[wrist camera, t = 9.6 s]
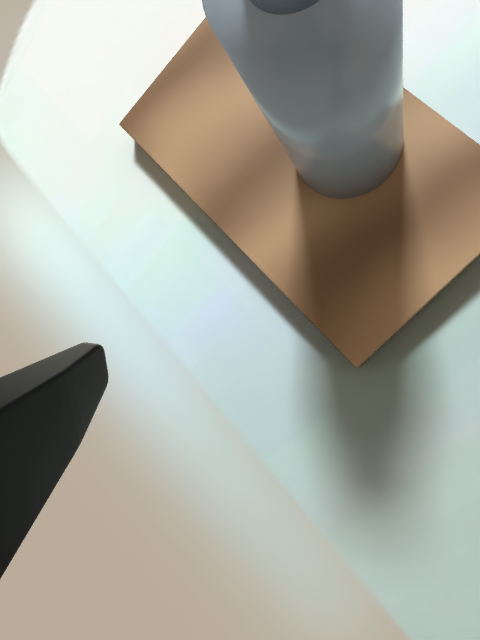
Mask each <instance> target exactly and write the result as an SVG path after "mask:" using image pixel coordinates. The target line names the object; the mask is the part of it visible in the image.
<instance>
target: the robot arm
mask: <svg viewBox="0 0 480 640" xmlns="http://www.w3.org/2000/svg"><path fill="white" fill-rule="evenodd" d="M107 383H108V370H107V365H106V358H105V352H104V349H103V347H102V346H101V345H99V344H93V343H81V344H78V345H76V346H74V347H71V348H69V349H66V350H64V351H62V352H59V353H57V354H55V355H52V356H50V357H48V358H45V359H43V360H41V361H38V362H36V363H34V364H32V365H29V366H27V367H24V368H22V369H20V370H17V371H15V372H12V373H10V374H8V375H5V376H3V377H1V378H0V578H1V577H2V575H3V573H4V572H5V570H6V568H7V567H8V565H9V563H10V562H11V560H12V558H13V557H14V555H15V553H16V552H17V550H18V548H19V547H20V545H21V543H22V541H23V540H24V538H25V536H26V535H27V533H28V531H29V530H30V528H31V526H32V525H33V523H34V521H35V519H36V518H37V516H38V514H39V513H40V511H41V509H42V508H43V506H44V504H45V503H46V501H47V499H48V498H49V496H50V494H51V493H52V491H53V489H54V488H55V486H56V484H57V483H58V481H59V479H60V478H61V476H62V474H63V473H64V471H65V469H66V468H67V466H68V464H69V462H70V461H71V459H72V457H73V456H74V454H75V452H76V450H77V449H78V447H79V445H80V443H81V441H82V439H83V437H84V435H85V433H86V431H87V428H88V426H89V424H90V422H91V420H92V418H93V415H94V413H95V411H96V409H97V406H98V404H99V402H100V400H101V398H102V395H103V393H104V391H105V389H106V386H107Z"/></svg>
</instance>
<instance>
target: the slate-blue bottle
mask: <svg viewBox="0 0 480 640" xmlns="http://www.w3.org/2000/svg"><path fill="white" fill-rule="evenodd" d="M202 3H203V8H204V11H205V15H206V18H207V20H208V22H209V24H210V26H211V28H212V30H213V31H214V33H215V35H216V36H217V38H218V40H219V41H220V43H221V45H222V46H223V48H224V50H225V51H226V53H227V55H228V56H229V58H230V60H231V61H232V63H233V65H234V66H235V68H236V70H237V71H238V73H239V75H240V76H241V78H242V80H243V81H244V83H245V85H246V86H247V88H248V90H249V91H250V93H251V95H252V96H253V98H254V100H255V101H256V103H257V105H258V106H259V108H260V110H261V111H262V113H263V115H264V116H265V118H266V120H267V121H268V123H269V125H270V126H271V128H272V130H273V131H274V133H275V135H276V136H277V138H278V140H279V141H280V143H281V145H282V146H283V148H284V150H285V151H286V153H287V155H288V156H289V158H290V160H291V161H292V163H293V165H294V166H295V168H296V170H297V171H298V173H299V175H300V176H301V178H302V179H303V181H304V182H305V183H306V184H307V185H308V186H309V187H310V188H311V189H312V190H314V191H315V192H317V193H319V194H321V195H323V196H326V197H330V198H335V199H348V198H354V197H358V196H361V195H364V194H366V193H368V192H370V191H372V190H374V189H375V188H377V187H378V186H380V185H381V184H382V183H383V182H384V181H385V180H386V179H387V178H388V177H389V176H390V175H391V174H392V172H393V171H394V169H395V168H396V166H397V164H398V162H399V159H400V157H401V154H402V149H403V141H404V128H403V10H402V0H202Z"/></svg>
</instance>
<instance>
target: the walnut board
mask: <svg viewBox="0 0 480 640" xmlns="http://www.w3.org/2000/svg"><path fill="white" fill-rule="evenodd" d="M119 125H120V126H121V127H122V128H123V129H124V130H125V131H126V132H127V133H128V134H129V135H130V136H131V137H132V138H133V139H134V140H135V141H136V142H137V143H138V144H139V145H140V146H141V147H142V148H143V149H144V150H145V151H146V152H147V153H148V154H149V155H150V156H151V157H152V159H153V160H154V161H155V162H156V163H157V164H158V165H159V166H160V167H161V168H162V169H163V170H164V171H165V172H166V173H167V174H168V175H169V176H170V177H171V178H172V179H173V180H174V181H175V182H176V183H177V184H178V185H179V186H180V187H181V188H182V189H183V190H184V191H185V192H186V193H187V194H188V195H189V197H190V198H191V199H192V200H193V201H194V202H195V203H196V204H197V205H198V206H199V207H200V208H201V209H202V210H203V211H204V212H205V213H206V214H207V215H208V216H209V217H210V218H211V219H212V220H213V221H214V222H215V223H216V224H217V225H218V226H219V227H220V228H221V229H222V230H223V231H224V232H225V234H226V235H227V236H228V237H229V238H230V239H231V240H232V241H233V242H234V243H235V244H236V245H237V246H238V247H239V248H240V249H241V250H242V251H243V252H244V253H245V254H246V255H247V256H248V257H249V258H250V259H251V260H252V261H253V262H254V263H255V264H256V265H257V266H258V267H259V268H260V269H261V270H262V272H263V273H264V274H265V275H266V276H267V277H268V278H269V279H270V280H271V281H272V282H273V283H274V284H275V285H276V286H277V287H278V288H279V289H280V290H281V291H282V292H283V293H284V294H285V295H286V296H287V297H288V298H289V299H290V300H291V301H292V302H293V303H294V304H295V305H296V306H297V307H298V308H299V310H300V311H301V312H302V313H303V314H304V315H305V316H306V317H307V318H308V319H309V320H310V321H311V322H312V323H313V324H314V325H315V326H316V327H317V328H318V329H319V330H320V331H321V332H322V333H323V334H324V335H325V336H326V337H327V338H328V339H329V340H330V341H331V342H332V343H333V344H334V345H335V346H336V348H337V349H338V350H339V351H340V352H341V353H342V354H343V355H344V356H345V357H346V358H347V359H348V360H349V361H350V362H351V363H352V364H353V365H354V366H355V367H356V368H357V367H360V366H361V365H362V364H363V363H364V362H365V361H366V360H367V359H369V358H370V357H371V356H372V355H373V354H374V353H375V352H376V351H377V350H378V349H379V348H380V347H381V346H383V345H384V344H385V343H386V342H387V341H388V340H389V339H390V338H391V337H392V336H393V335H394V334H395V333H397V332H398V331H399V330H400V329H401V328H402V327H403V326H404V325H405V324H406V323H407V322H408V321H409V320H410V319H412V318H413V317H414V316H415V315H416V314H417V313H418V312H419V311H420V310H421V309H422V308H423V307H424V306H426V305H427V304H428V303H429V302H430V301H431V300H432V299H433V298H434V297H435V296H436V295H437V294H438V293H440V292H441V291H442V290H443V289H444V288H445V287H446V286H447V285H448V284H449V283H450V282H451V281H452V280H454V279H455V278H456V277H457V276H458V275H459V274H460V273H461V272H462V271H463V270H464V269H465V268H466V267H468V266H469V265H470V264H471V263H472V262H473V261H474V260H475V259H476V258H477V257H478V256H479V255H480V145H479V144H478V143H476V142H475V141H474V140H472V139H471V138H470V137H468V136H467V135H466V134H464V133H463V132H462V131H460V130H459V129H458V128H456V127H455V126H454V125H452V124H451V123H450V122H448V121H447V120H446V119H445V118H443V117H442V116H441V115H439V114H438V113H437V112H435V111H434V110H433V109H431V108H430V107H429V106H427V105H426V104H425V103H423V102H422V101H421V100H419V99H418V98H417V97H415V96H414V95H413V94H411V93H410V92H409V91H407V90H406V89H405V88H403V128H404V141H403V149H402V154H401V157H400V159H399V162H398V164H397V166H396V168H395V169H394V171H393V172H392V174H391V175H390V176H389V177H388V178H387V179H386V180H385V181H384V182H383V183H382V184H381V185H380V186H378V187H377V188H375V189H374V190H372V191H370V192H368V193H366V194H364V195H361V196H358V197H354V198H348V199H335V198H330V197H326V196H323V195H321V194H319V193H317V192H315V191H314V190H312V189H311V188H310V187H309V186H308V185H307V184H306V183H305V182H304V181H303V179H302V178H301V176H300V175H299V173H298V171H297V170H296V168H295V166H294V165H293V163H292V161H291V160H290V158H289V156H288V155H287V153H286V151H285V150H284V148H283V146H282V145H281V143H280V141H279V140H278V138H277V136H276V135H275V133H274V131H273V130H272V128H271V126H270V125H269V123H268V121H267V120H266V118H265V116H264V115H263V113H262V111H261V110H260V108H259V106H258V105H257V103H256V101H255V100H254V98H253V96H252V95H251V93H250V91H249V90H248V88H247V86H246V85H245V83H244V81H243V80H242V78H241V76H240V75H239V73H238V71H237V70H236V68H235V66H234V65H233V63H232V61H231V60H230V58H229V56H228V55H227V53H226V51H225V50H224V48H223V46H222V45H221V43H220V41H219V40H218V38H217V36H216V35H215V33H214V31H213V30H212V28H211V26H210V24H209V22H208V20H207V18H205V19H204V20H203V21H202V23H201V24H200V25H199V26H198V28H197V29H196V30H195V31H194V32H193V34H192V35H191V36H190V37H189V39H188V40H187V41H186V42H185V44H184V45H183V46H182V47H181V48H180V50H179V51H178V52H177V53H176V55H175V56H174V57H173V58H172V60H171V61H170V62H169V63H168V64H167V66H166V67H165V68H164V69H163V71H162V72H161V73H160V74H159V76H158V77H157V78H156V79H155V81H154V82H153V83H152V84H151V85H150V87H149V88H148V89H147V90H146V92H145V93H144V94H143V95H142V97H141V98H140V99H139V100H138V101H137V103H136V104H135V105H134V106H133V108H132V109H131V110H130V111H129V113H128V114H127V115H126V116H125V117H124V119H123V120H122V121H121V122H120V124H119Z"/></svg>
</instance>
